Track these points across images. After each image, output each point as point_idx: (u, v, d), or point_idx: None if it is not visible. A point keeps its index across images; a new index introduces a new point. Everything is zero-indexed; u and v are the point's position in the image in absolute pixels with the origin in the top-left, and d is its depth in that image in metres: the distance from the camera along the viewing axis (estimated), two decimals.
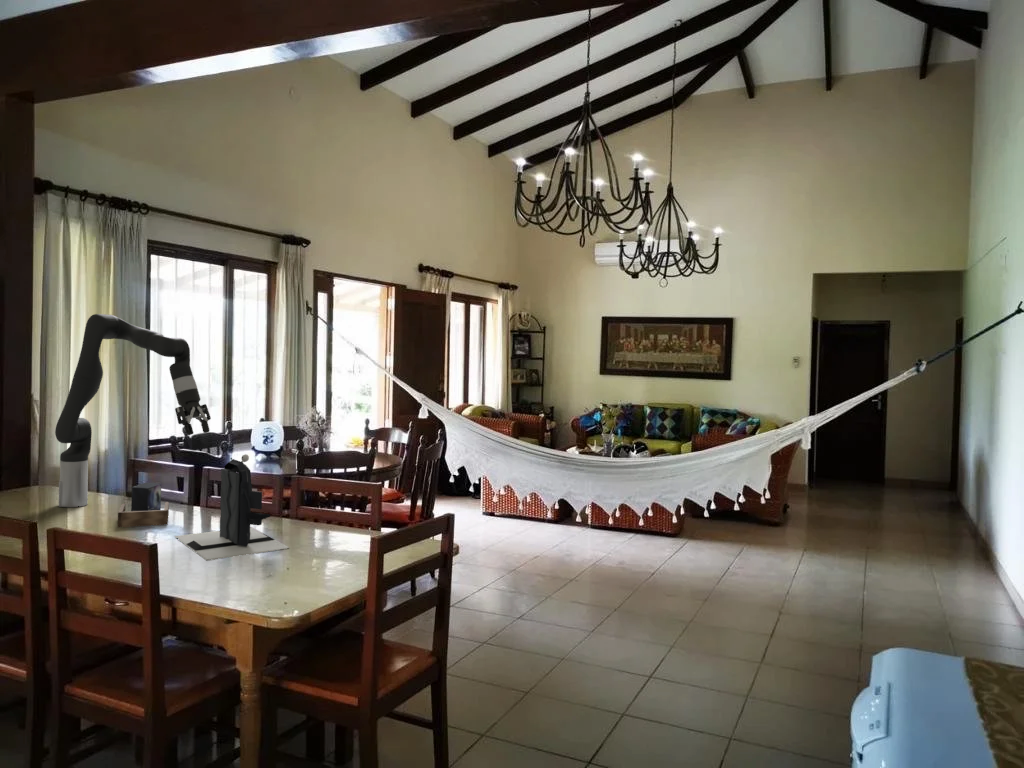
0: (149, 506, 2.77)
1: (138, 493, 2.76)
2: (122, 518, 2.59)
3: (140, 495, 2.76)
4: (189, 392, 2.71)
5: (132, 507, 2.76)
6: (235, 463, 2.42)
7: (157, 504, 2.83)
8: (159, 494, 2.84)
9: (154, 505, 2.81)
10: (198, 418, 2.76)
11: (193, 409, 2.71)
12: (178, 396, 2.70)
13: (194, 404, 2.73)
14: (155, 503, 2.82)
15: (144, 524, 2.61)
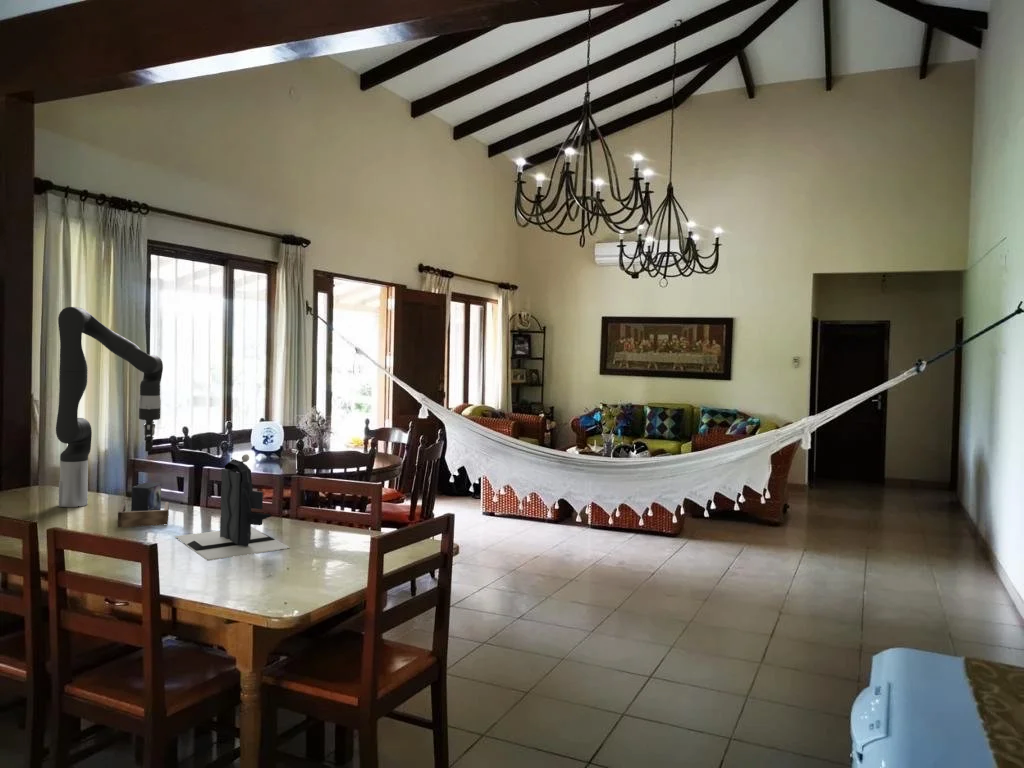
0: (149, 506, 2.77)
1: (138, 493, 2.76)
2: (122, 518, 2.59)
3: (140, 495, 2.76)
4: (157, 411, 2.91)
5: (132, 507, 2.76)
6: (236, 463, 2.42)
7: (157, 504, 2.83)
8: (159, 494, 2.84)
9: (154, 505, 2.81)
10: None
11: (154, 427, 2.91)
12: (146, 412, 2.88)
13: None
14: (155, 503, 2.82)
15: (144, 524, 2.61)
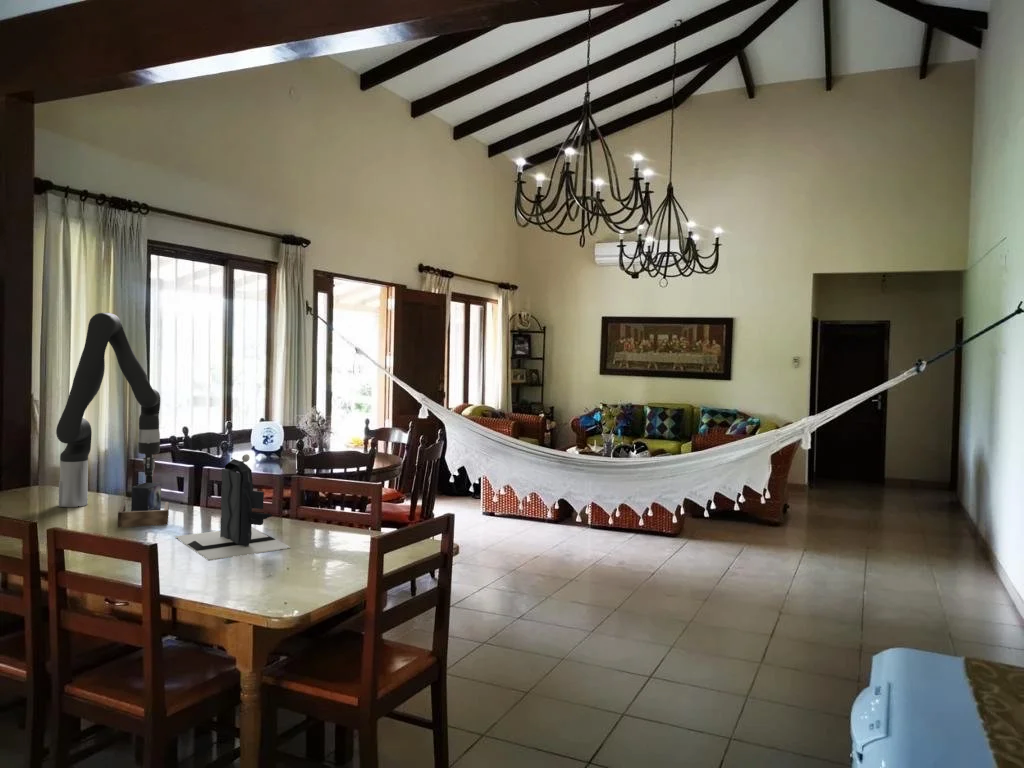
0: (149, 506, 2.77)
1: (138, 493, 2.76)
2: (122, 518, 2.59)
3: (140, 495, 2.76)
4: (157, 444, 2.91)
5: (132, 507, 2.76)
6: (236, 463, 2.42)
7: (157, 504, 2.83)
8: (159, 494, 2.84)
9: (154, 505, 2.81)
10: None
11: (154, 460, 2.92)
12: (145, 446, 2.88)
13: (152, 455, 2.93)
14: (155, 503, 2.82)
15: (144, 524, 2.61)
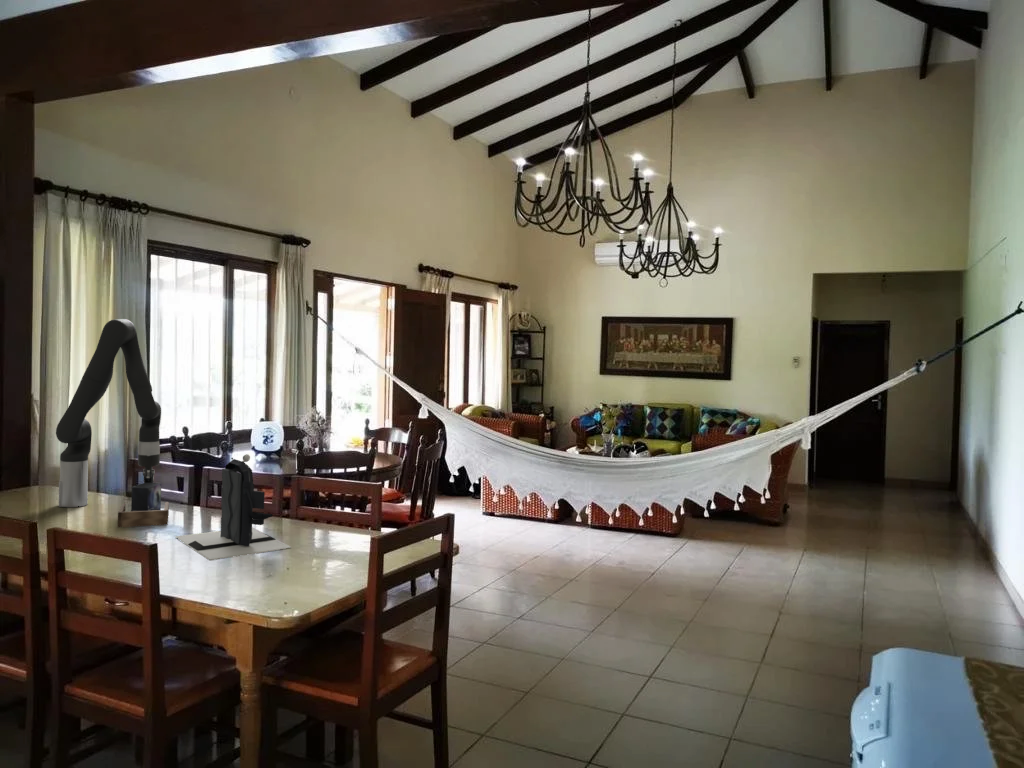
0: (149, 506, 2.77)
1: (138, 493, 2.76)
2: (122, 518, 2.59)
3: (140, 495, 2.76)
4: (157, 457, 2.90)
5: (132, 507, 2.76)
6: (237, 463, 2.42)
7: (157, 504, 2.83)
8: (159, 494, 2.84)
9: (154, 505, 2.81)
10: None
11: None
12: (145, 458, 2.87)
13: None
14: (155, 503, 2.82)
15: (144, 524, 2.61)
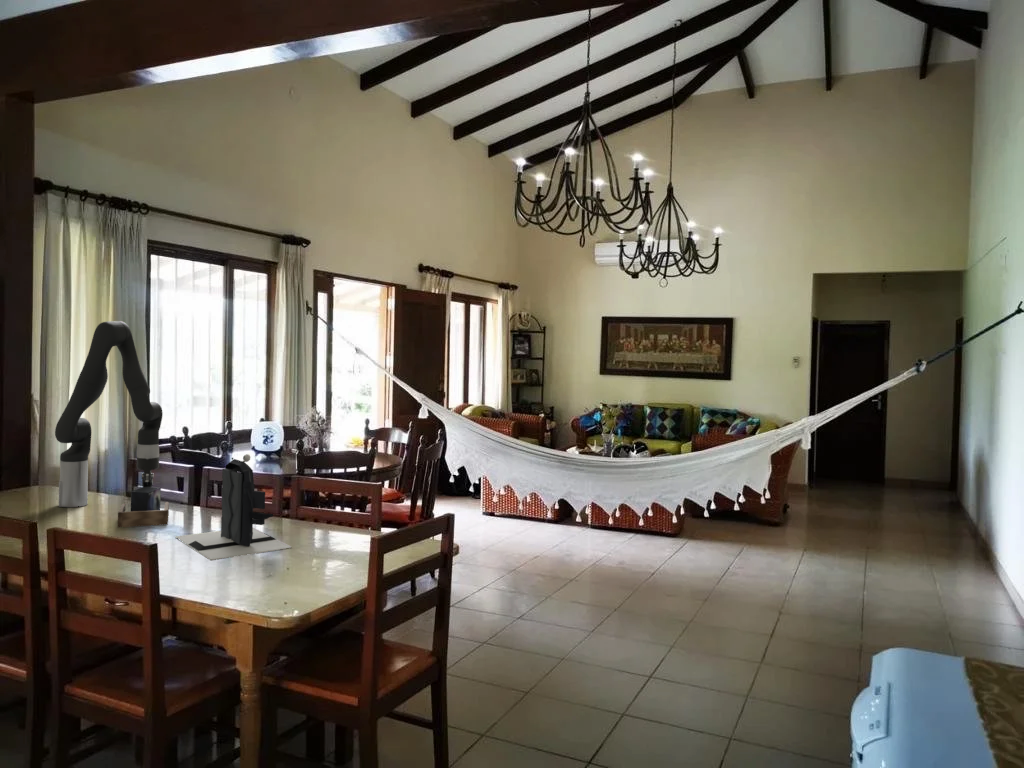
0: None
1: (137, 497, 2.68)
2: (122, 518, 2.59)
3: (139, 500, 2.68)
4: (156, 460, 2.81)
5: None
6: (237, 463, 2.42)
7: (156, 509, 2.75)
8: (159, 498, 2.76)
9: (153, 509, 2.73)
10: None
11: (153, 476, 2.82)
12: (144, 462, 2.78)
13: None
14: (155, 507, 2.74)
15: (144, 524, 2.61)
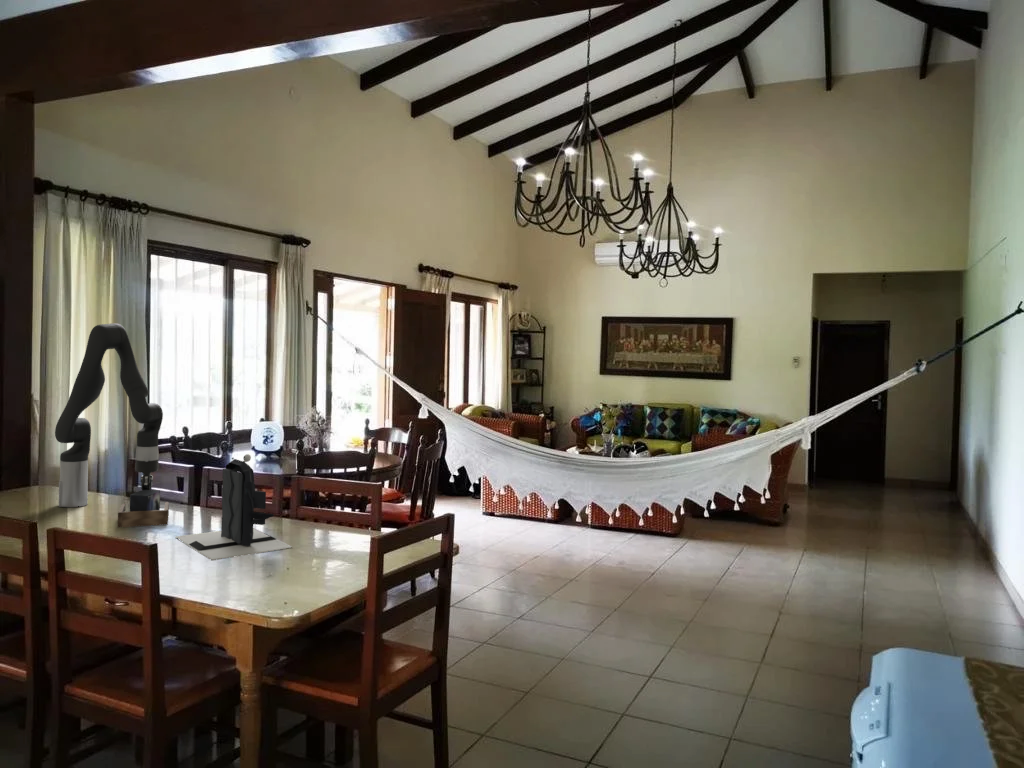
0: None
1: (136, 500, 2.62)
2: (122, 518, 2.59)
3: (139, 503, 2.62)
4: (155, 462, 2.76)
5: None
6: (238, 463, 2.42)
7: None
8: (158, 502, 2.71)
9: None
10: None
11: (152, 479, 2.76)
12: (143, 464, 2.73)
13: None
14: None
15: (144, 524, 2.61)
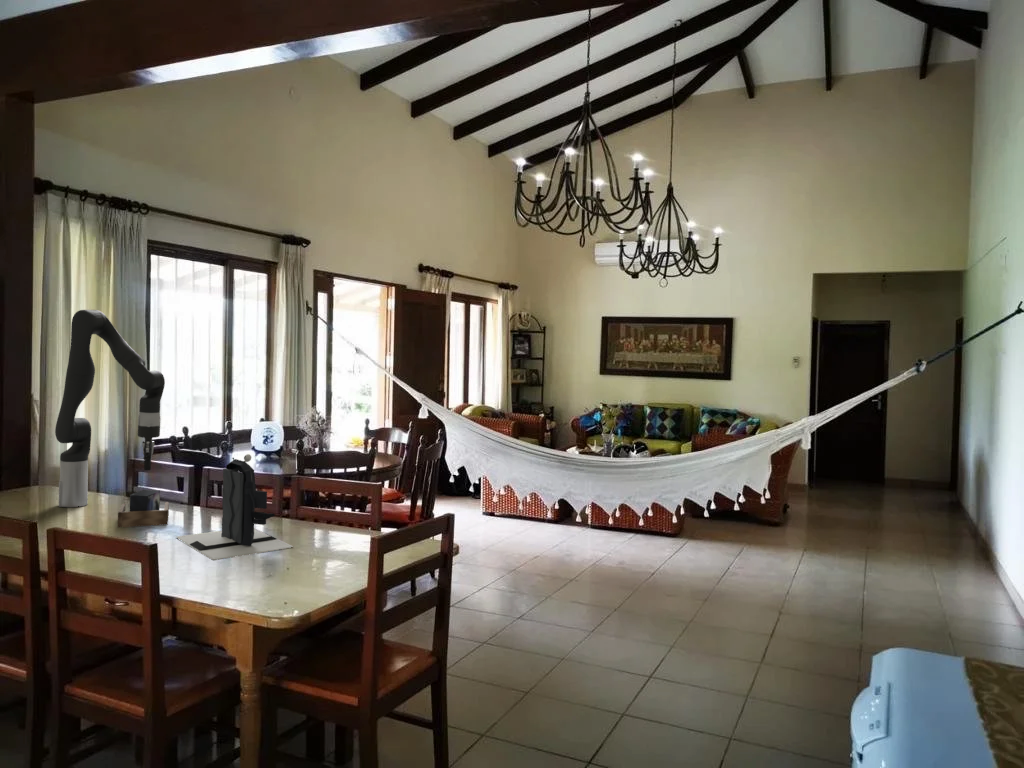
0: None
1: (136, 501, 2.62)
2: (122, 518, 2.59)
3: (139, 503, 2.62)
4: (157, 428, 2.83)
5: None
6: (238, 463, 2.42)
7: None
8: (158, 502, 2.71)
9: None
10: None
11: (153, 445, 2.83)
12: (145, 429, 2.80)
13: None
14: None
15: (144, 524, 2.61)
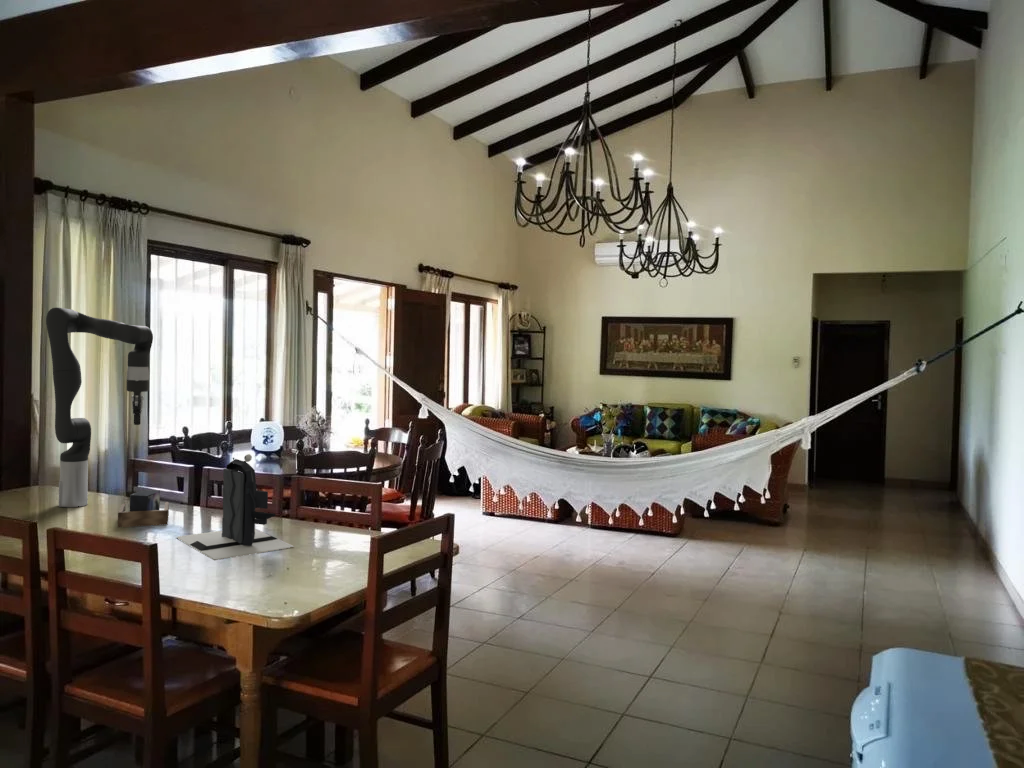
0: None
1: (136, 501, 2.62)
2: (122, 518, 2.59)
3: (139, 503, 2.62)
4: (145, 382, 2.84)
5: None
6: (239, 463, 2.42)
7: None
8: (158, 502, 2.71)
9: None
10: None
11: (142, 399, 2.85)
12: (134, 383, 2.82)
13: None
14: None
15: (144, 524, 2.61)
